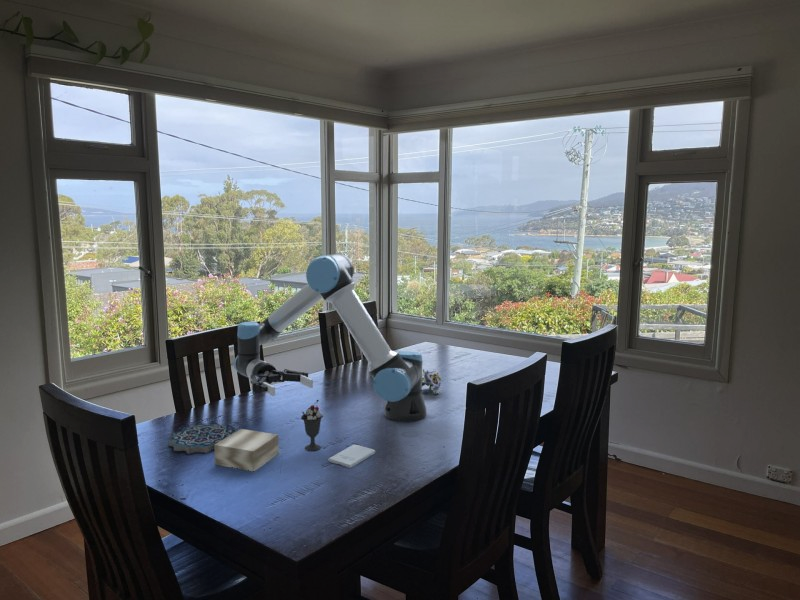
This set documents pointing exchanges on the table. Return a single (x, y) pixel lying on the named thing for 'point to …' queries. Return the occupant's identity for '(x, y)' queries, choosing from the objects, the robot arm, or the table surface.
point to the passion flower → (431, 381)
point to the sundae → (312, 425)
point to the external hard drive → (352, 455)
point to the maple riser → (246, 449)
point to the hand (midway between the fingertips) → (293, 387)
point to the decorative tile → (199, 437)
